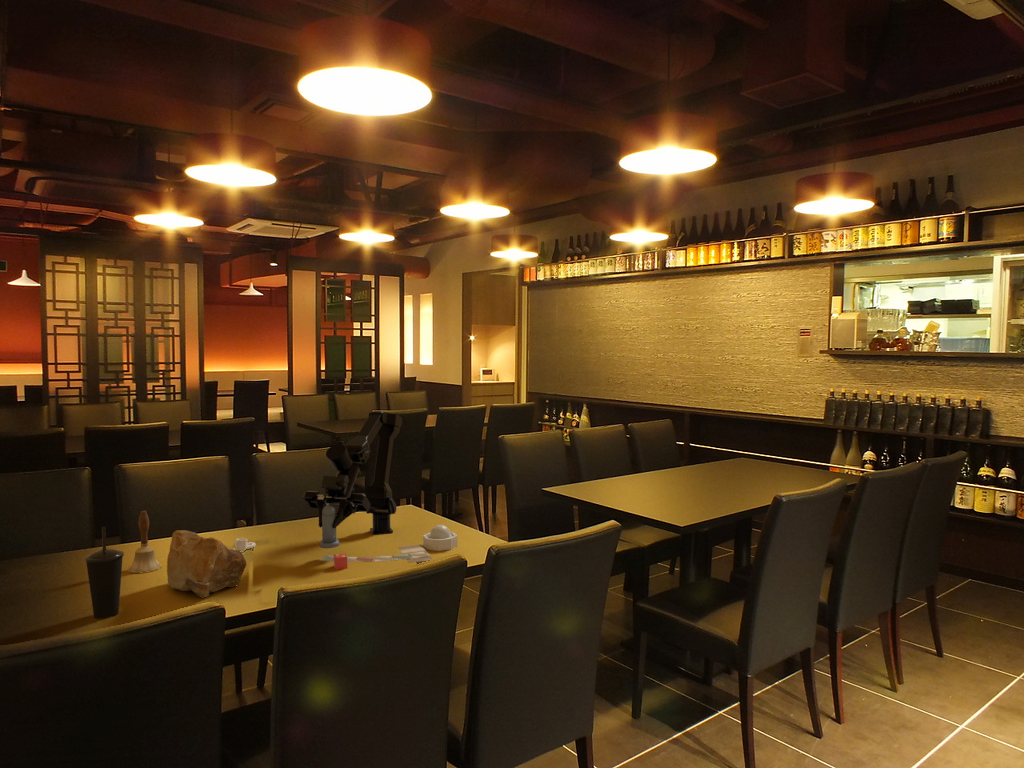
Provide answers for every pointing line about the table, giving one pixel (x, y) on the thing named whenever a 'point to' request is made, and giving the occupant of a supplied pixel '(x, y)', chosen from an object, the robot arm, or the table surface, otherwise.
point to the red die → (340, 561)
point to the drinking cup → (105, 579)
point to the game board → (409, 552)
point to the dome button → (440, 532)
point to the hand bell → (144, 550)
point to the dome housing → (440, 542)
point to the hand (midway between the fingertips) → (326, 527)
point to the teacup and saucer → (243, 544)
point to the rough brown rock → (202, 564)
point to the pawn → (328, 528)
